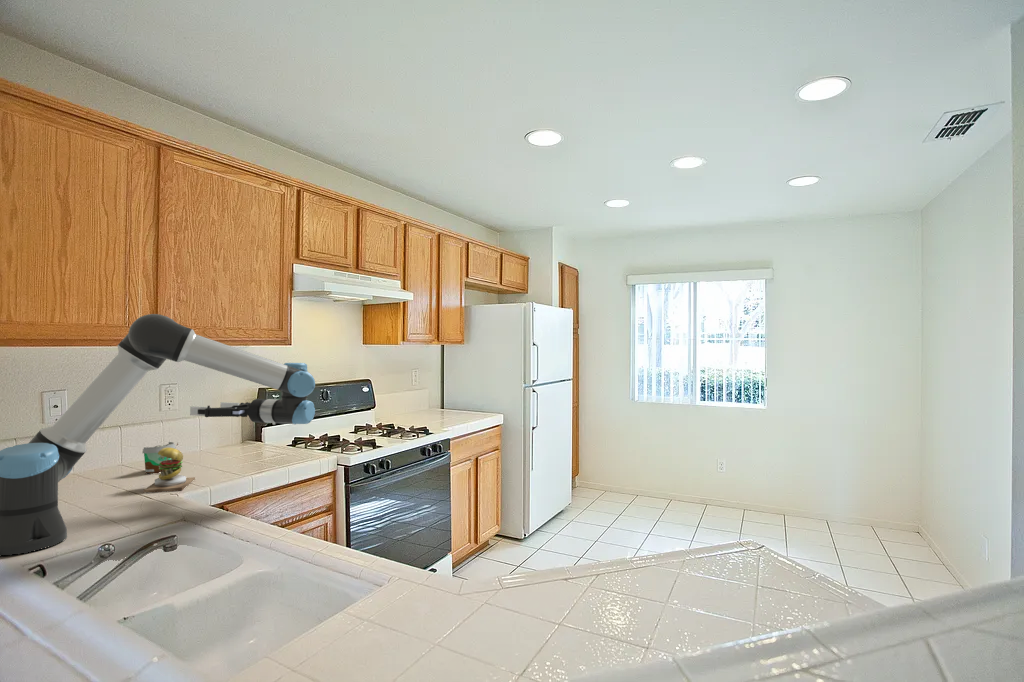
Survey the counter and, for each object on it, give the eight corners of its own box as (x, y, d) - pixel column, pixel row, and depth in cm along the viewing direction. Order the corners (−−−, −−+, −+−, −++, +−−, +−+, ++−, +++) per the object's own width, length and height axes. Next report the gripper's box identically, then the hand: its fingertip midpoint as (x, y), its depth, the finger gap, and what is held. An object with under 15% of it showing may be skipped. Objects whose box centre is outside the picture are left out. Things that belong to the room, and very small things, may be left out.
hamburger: (154, 478, 182) (154, 443, 182) (178, 474, 187) (179, 440, 187) (161, 482, 177) (161, 446, 177) (186, 478, 182) (186, 443, 182)
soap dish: (143, 493, 174) (143, 484, 174) (159, 482, 187) (159, 474, 188) (181, 490, 177) (181, 482, 177) (195, 480, 190) (195, 472, 190)
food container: (156, 475, 197) (156, 448, 197) (142, 474, 198) (142, 447, 198) (183, 468, 209) (183, 442, 209) (169, 467, 210) (169, 441, 210)
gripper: (240, 428, 160) (176, 425, 164) (287, 417, 185) (232, 415, 188) (240, 403, 160) (177, 400, 164) (288, 395, 185) (232, 393, 189)
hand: (206, 408), depth 176 cm, fingers open, 13 cm apart
